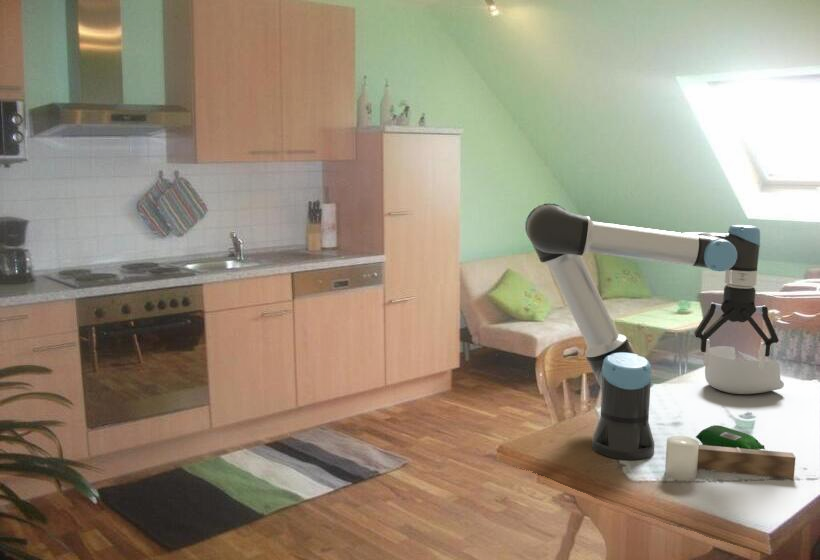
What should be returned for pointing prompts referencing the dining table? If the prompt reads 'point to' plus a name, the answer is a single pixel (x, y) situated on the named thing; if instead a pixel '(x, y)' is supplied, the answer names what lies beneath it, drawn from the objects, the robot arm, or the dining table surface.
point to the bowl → (740, 372)
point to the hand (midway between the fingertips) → (733, 366)
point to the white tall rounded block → (681, 457)
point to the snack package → (728, 438)
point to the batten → (746, 461)
